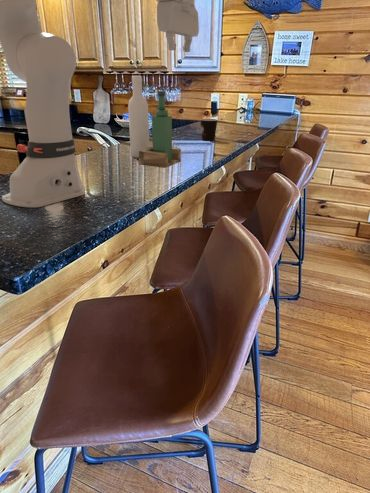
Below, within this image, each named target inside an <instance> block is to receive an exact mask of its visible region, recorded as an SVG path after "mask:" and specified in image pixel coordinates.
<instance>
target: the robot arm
mask: <svg viewBox="0 0 370 493" xmlns="http://www.w3.org/2000/svg"><path fill="white" fill-rule="evenodd" d="M195 1H196V0H156V2H157V3H156V4H157V5H156V20H157V21H156V22H157V28H158V30H159V32H162V33H165V38H166V41H167V44H168V47H167V48H168V51H176V50H177V45H176V43H175V38H174V37H175V35H179V36H183V37H184V45H182V48H183V49H182V51H183V52H184V53H189V52H191V45H192V41H193V37H196V38H197V37H198V36H199V32H200V24H199V12H198V10H197V8H196V6H195ZM37 9H38V8H37V0H0V46H1V47H2V50H3V54H4V55H5V60H6V61H5V62H6V65H7V66H8V69H9V70H10V71H11V73H12V74H13V75H15V77H16V78H18V79H19V80H22V81H23V82H25V83H26V95H25V96H26V97H25V98H26V99H25V104H24V105H25V106H24V108H23V109H24V110H23V111H24V117H25V123H26V128H27V133H28V139H29V140H28V141H27V145H26V144H21V143H19V144H17V146H16V150H17V151H18V153H25V155H26V157H25V158H24V159H23V161H22V162H21V163H20V164H19V165H18V166H17V168H16V169H15V170H14V171H13V173H11V175H10V177H9V182H8V183H9V192H8V193H6V194H4V195H1V200H2V202H4V203H5V204H8V205H12V206H16V207H21V208H22V207H23V208H41V207H45V206H48V205H51V204H52V205H53V204H56V203H60V202H62V201H65V200H70V199H73V198H76V197H80V196H81V197H82V196H84V195H86V192H85V186H84V184H83V181H82V178H81V176H80V170H79V167H78V162H77V158H76V156H75V154H76V151H77V150H76V144H75V140H74V138H73V133H72V125H71V116H70V95H71V86H72V85H71V84H72V77H73V76H74V73H75V71H76V68H77V57H76V54H75V51H74V49H73V47H72V46H71V45H70V43H69V42H68V41H66V39H64V38H62V37H60V36H59V35H56V34H53V33H50V32H43V30H42V26H41V23H40V19H39V15H38V10H37Z"/></svg>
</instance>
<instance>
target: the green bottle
mask: <svg viewBox="0 0 370 493" xmlns="http://www.w3.org/2000/svg"><path fill="white" fill-rule="evenodd" d="M157 105H158V108H157V109H155V115H152V116H151V127H152V128H151V129H152V130H151V131H152V133H151V134H152V147H153V151H154V152H163V153H168V162H169V161H171V160H172V148H173V123H172V122H173V120H172V119H173V116H172V115H169V110H168V109H166V91H165V90H157Z"/></svg>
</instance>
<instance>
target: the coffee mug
mask: <svg viewBox="0 0 370 493" xmlns="http://www.w3.org/2000/svg"><path fill="white" fill-rule="evenodd" d="M199 121H200V131H201V141H203V142H214V141H215V140H216V139H215V138H216V133H217V125H218V119H217V118H200V120H199Z"/></svg>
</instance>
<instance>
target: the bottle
mask: <svg viewBox="0 0 370 493" xmlns="http://www.w3.org/2000/svg"><path fill="white" fill-rule="evenodd" d="M142 77H143V76H141V75H132V76H131V83H132V84H131V85H132V86H131V87H132V96H131V97H130V98H129V100H128V104H127V108H128V110H127V111H128V125H129V126H128V127H129V143H130V144H129V145H130V148H129V149H130V157H131V158H135V159H139V151H141V150H144V149H147V148H150V124H149V122H150V121H149V104H148V101H147V99H146V98H145V97H144V96H143V78H142Z"/></svg>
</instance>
